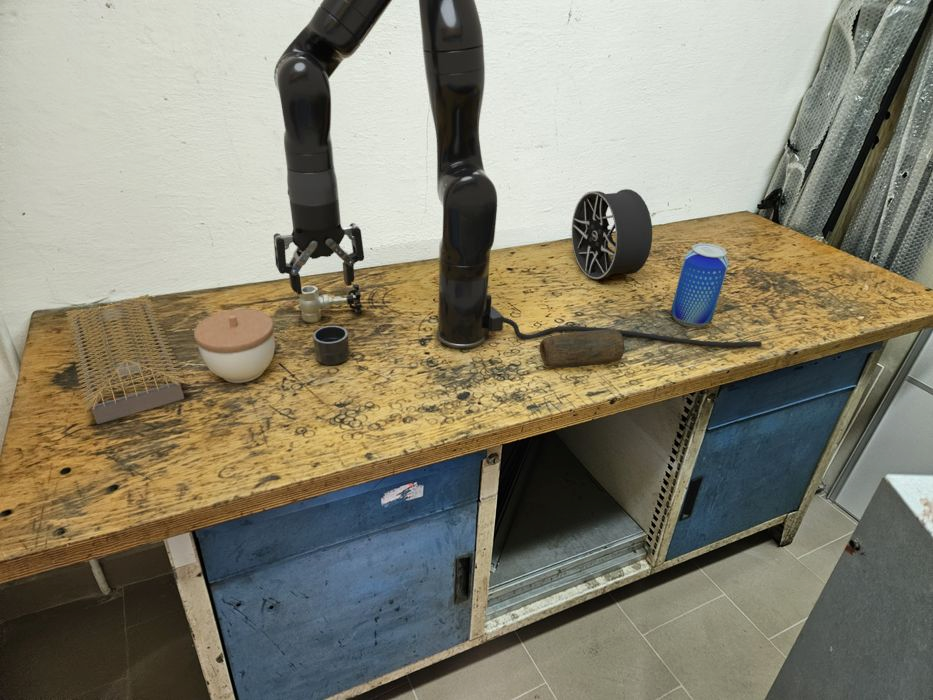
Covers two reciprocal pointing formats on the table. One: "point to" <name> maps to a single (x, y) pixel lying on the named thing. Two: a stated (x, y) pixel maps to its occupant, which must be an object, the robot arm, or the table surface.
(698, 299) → the beer can
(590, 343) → the brown wooden log
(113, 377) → the rafter model
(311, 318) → the valve
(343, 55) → the robot arm
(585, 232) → the wheel rim
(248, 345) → the lidded bowl
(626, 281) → the table surface
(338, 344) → the dark gray metal cup
